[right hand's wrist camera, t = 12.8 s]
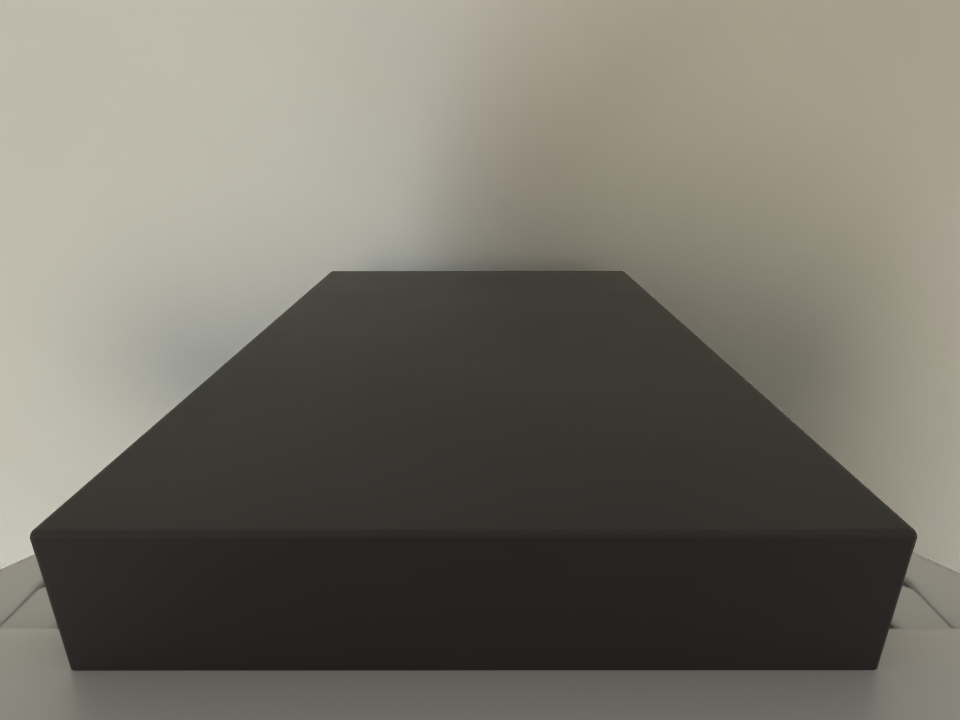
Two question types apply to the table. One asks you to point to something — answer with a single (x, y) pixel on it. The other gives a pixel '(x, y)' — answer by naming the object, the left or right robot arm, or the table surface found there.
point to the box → (474, 500)
